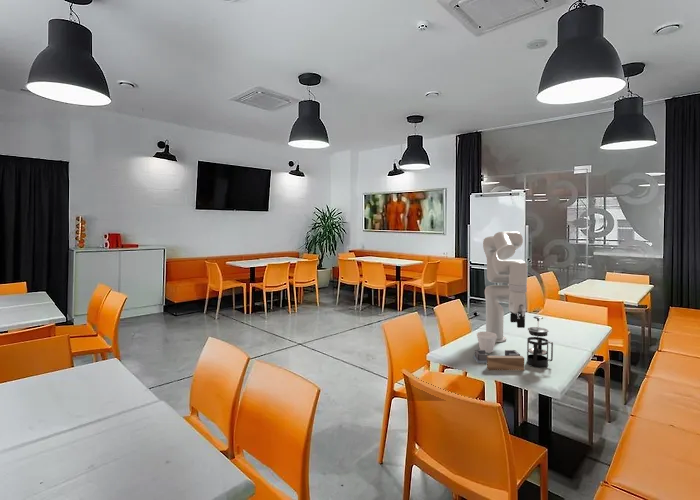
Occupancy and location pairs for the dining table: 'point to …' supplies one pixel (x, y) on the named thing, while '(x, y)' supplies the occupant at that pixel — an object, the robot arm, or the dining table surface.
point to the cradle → (482, 357)
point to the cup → (486, 341)
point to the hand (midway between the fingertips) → (517, 324)
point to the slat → (505, 362)
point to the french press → (538, 347)
